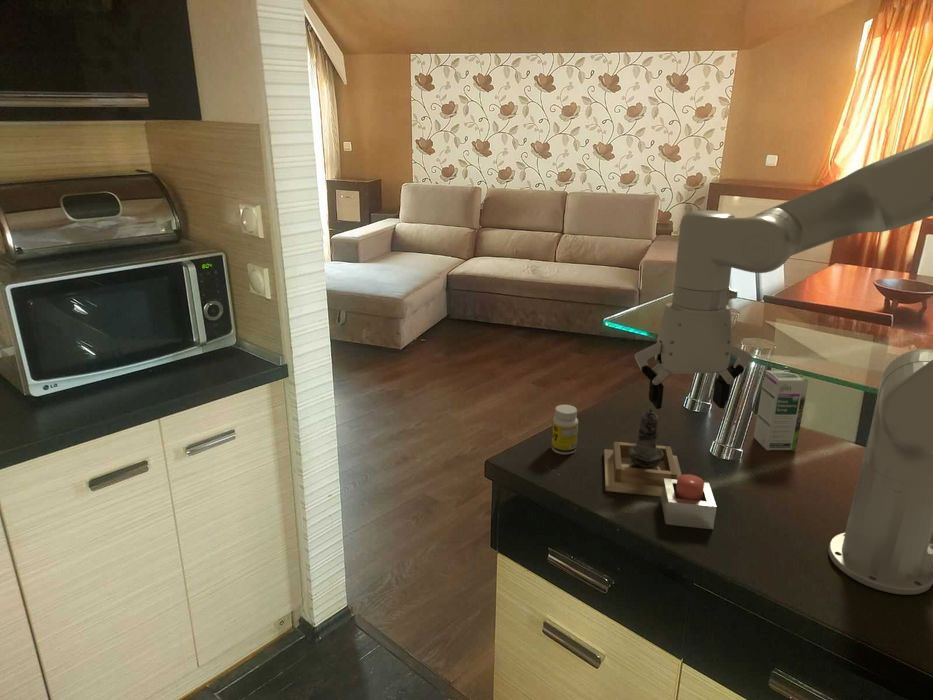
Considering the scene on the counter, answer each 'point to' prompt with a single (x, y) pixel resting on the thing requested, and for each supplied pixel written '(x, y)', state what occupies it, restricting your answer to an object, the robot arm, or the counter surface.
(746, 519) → the counter surface
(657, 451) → the dark stone statuette
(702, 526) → the button box
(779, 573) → the counter surface
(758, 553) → the counter surface
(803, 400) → the syrup box
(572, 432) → the supplement bottle
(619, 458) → the open wooden tray
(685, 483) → the button
